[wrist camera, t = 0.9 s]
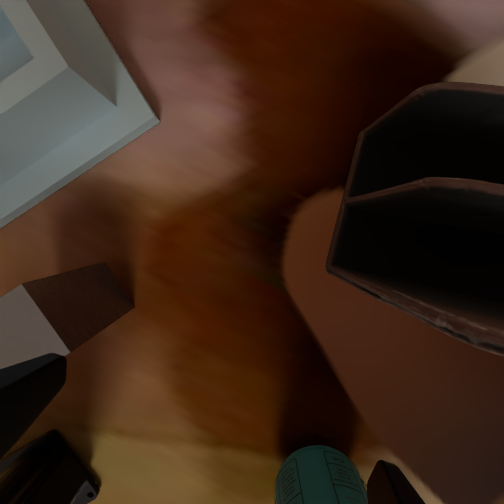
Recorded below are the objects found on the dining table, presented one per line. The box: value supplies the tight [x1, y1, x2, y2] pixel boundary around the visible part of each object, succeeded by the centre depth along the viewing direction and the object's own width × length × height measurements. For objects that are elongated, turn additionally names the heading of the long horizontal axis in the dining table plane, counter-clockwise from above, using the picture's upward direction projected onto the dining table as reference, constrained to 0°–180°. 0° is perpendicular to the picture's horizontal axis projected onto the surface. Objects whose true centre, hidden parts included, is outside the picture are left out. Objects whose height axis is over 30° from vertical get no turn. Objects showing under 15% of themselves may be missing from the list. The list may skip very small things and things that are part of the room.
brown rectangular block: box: [0, 262, 134, 369], centre depth 16 cm, size 4×4×7 cm
